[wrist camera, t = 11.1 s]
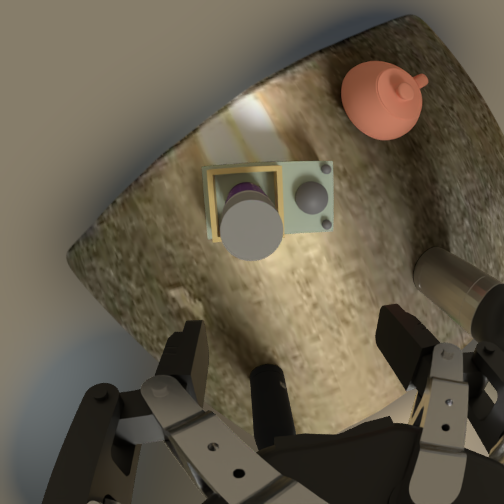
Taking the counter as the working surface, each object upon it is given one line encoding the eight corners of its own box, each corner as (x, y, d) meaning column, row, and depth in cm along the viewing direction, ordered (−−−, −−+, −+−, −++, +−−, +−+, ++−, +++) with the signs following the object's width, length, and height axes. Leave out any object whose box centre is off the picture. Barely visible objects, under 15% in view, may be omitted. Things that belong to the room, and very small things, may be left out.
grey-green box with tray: (319, 160, 39) (341, 161, 30) (320, 221, 41) (341, 237, 33) (207, 166, 38) (198, 167, 30) (212, 228, 41) (205, 246, 32)
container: (224, 184, 33) (213, 202, 19) (263, 179, 33) (281, 193, 19) (229, 222, 35) (223, 266, 20) (267, 217, 35) (287, 258, 20)
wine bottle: (246, 385, 51) (255, 527, 22) (254, 361, 49) (269, 515, 20) (277, 389, 52) (301, 525, 23) (288, 366, 50) (321, 512, 21)
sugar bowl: (319, 86, 35) (344, 65, 25) (384, 54, 33) (417, 34, 23) (364, 154, 38) (398, 155, 29) (422, 117, 37) (461, 112, 27)
